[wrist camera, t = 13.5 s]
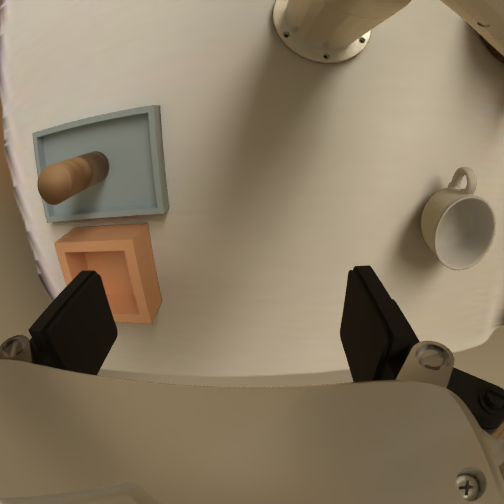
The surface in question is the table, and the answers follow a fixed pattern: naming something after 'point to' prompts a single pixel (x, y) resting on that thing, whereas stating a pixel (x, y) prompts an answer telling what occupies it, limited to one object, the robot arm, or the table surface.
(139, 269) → the open box
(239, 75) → the table surface
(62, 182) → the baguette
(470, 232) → the teacup
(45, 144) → the tray
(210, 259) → the table surface
